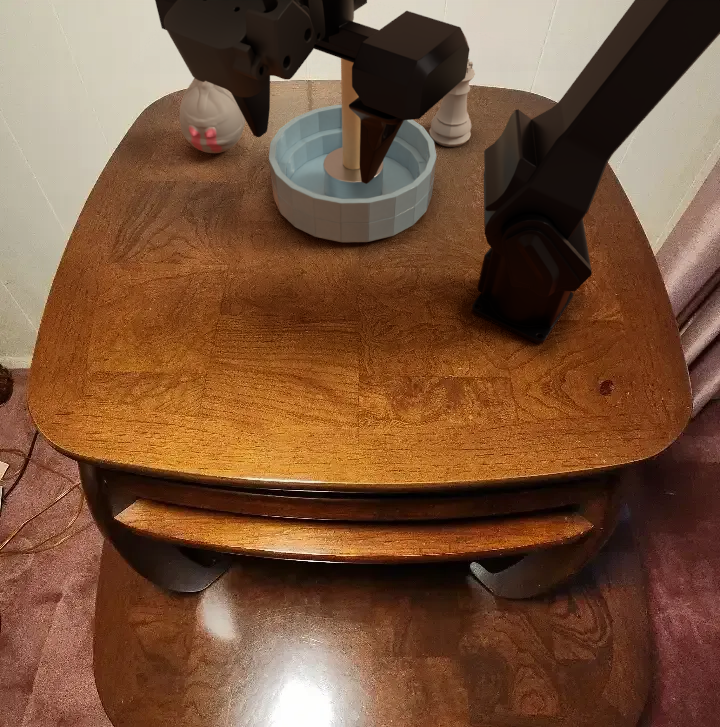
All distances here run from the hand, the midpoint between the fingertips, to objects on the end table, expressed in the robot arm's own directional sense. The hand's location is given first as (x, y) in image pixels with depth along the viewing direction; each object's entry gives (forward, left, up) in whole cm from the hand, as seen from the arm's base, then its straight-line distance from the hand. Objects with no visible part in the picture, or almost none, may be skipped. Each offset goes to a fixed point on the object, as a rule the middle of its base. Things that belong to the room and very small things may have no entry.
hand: (312, 156), depth 43 cm
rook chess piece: (+2, -26, -13) cm, 29 cm away
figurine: (+21, -10, -13) cm, 27 cm away
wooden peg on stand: (+5, -12, -12) cm, 18 cm away
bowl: (+5, -12, -13) cm, 18 cm away
